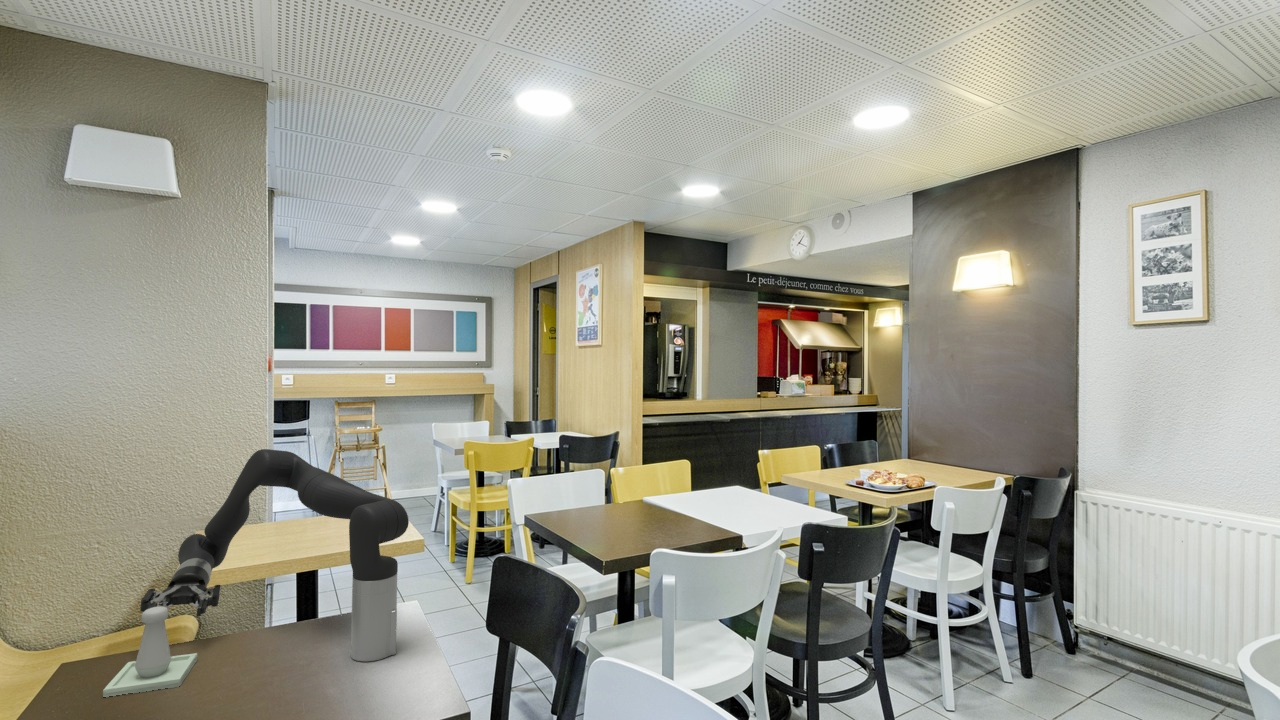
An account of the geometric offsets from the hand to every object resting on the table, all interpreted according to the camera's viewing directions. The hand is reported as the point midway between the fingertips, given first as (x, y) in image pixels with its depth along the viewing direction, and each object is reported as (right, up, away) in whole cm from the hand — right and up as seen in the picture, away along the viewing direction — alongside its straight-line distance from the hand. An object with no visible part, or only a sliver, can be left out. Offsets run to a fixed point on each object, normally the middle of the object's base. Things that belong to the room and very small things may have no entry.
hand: (175, 614), depth 134 cm
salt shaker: (+3, -8, -9) cm, 13 cm away
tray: (+3, -9, -10) cm, 13 cm away
